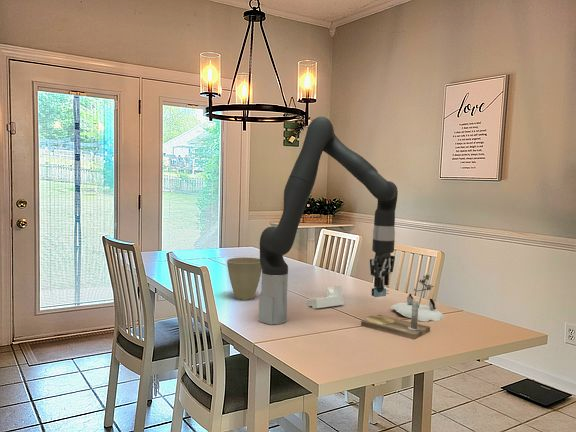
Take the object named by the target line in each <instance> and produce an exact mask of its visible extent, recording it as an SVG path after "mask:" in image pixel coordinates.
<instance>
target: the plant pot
mask: <svg viewBox="0 0 576 432" xmlns="http://www.w3.org/2000/svg"><path fill="white" fill-rule="evenodd" d="M226 264H227V265H226V266H227V271H228V272H227V273H228V277H229V281H230V285H231V288H232V292H233V295H234V297H235V299H236V298H237V299H236V300H239V299H241V300H240V301H249V299H250V300H252V299H254V297H255V295H256V292H257V289H258V286H259V282H260V279H261V276H262V267H261V264H260V258H257V257H248V256H247V257H245V256H244V257H243V256H241V257H231V258H227V260H226Z"/></svg>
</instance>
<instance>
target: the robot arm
mask: <svg viewBox="0 0 576 432" xmlns="http://www.w3.org/2000/svg"><path fill="white" fill-rule="evenodd" d="M302 143H303V144H302V146H301V147H302V148H301V149H300V152H299V154H298V156H297V158H296V161H295V163H294V165H293V167H292V169H291V172H290V174H289V176H288V178H287V181H286V184H285V187H284V190H283V209H282V215H281V217H280V219H279V223H278V224H277V226H268V227H265V229H263V230H262V232H261V235H260V238H259V259H260V264H261V267H262V270H261V286H260V287H261V291H260V294H259V295H258V322H260V323H263V324H266V325H271V326H272V325H281V324H285V323H286V322H287V319H288V318H287V317H288V316H287V314H288V289H289V288H288V285H289V284H288V283H289V282H288V280H289V265H288V264H287V263H286V261H285V259H284V256H285V255H286V254H288V253H289V252H290V251H291V249H292V248H293V246H294V242H295V238H296V236H297V233H298V227H299V225H300V221H301V219H302V216H303V214H304V211H305V207H306V206H307V203H308V200H309V199H310V196H311V193H312V190H313V189H314V185H315V183H316V179H317V174H318V170H319V164H320V160H321V156H322V154H323V152H324V153H326V154H327V155H329V156H330V157H331V158H332V159H333V160H335V161H337V162H338V163H339V164H340V165H341V166H342V167H343V168H345V169H346V171H348V172H349V173H350V174H351V175H352V176H353V177H354V178H355V179H356V180H358V181H359V182H360V183H361V184H363V186H364V187H365V188H366V190H367V191H368V192H369V193H370V194H371V195H372V196H373V197H374V198H375V199H377V204H376V205H377V206H376V209H375V211H374V219H373V220H374V221H373V229H372V246H371V247H372V249H371V250H372V252H374V253H375V255H374V258H370V259H369V270H370V276H373V277H374V279H373V280H374V283H373V288H374V287H376V288H380V287H381V274H382V271H384V268H385V270H386V271H387V275H386V276H385V277H384V286H385V287H386V286H389V284H390V275H391V274H392V273H393V272H394V267H395V260H396V259H395V258H396V256H395V255H392V253H394V252H395V239H396V237H395V236H396V231H395V230H396V229H395V226H396V225H395V223H396V222H395V220H396V209H397V203H398V187H397V185H396V184H395V183H394V182H393V181H390V180H387V179H386V178H384V176H382V175H381V174H380V173H379V172H378V170H377V169H376V167H375V166H373V165H372V164H371V163H370V162H369V161H368V160H366V158H364V157H363V156H362V155H360V154H359V153H357V152H355V151H354V150H352V149H350V148H349V147H347V146H346V145H345V144H344V143H343V142H342V141H341V140H340V139H339V138H338V136H337V135H336V134H335V130H334V126H333V124H332V122H331V121H330V119H329V118H327V117H326V116H317V117H315V118H314V119H312V121H310V123H309V124H308V127H307V130H306V133H305V137H304V141H303V142H302ZM378 267H380V268H378ZM373 270H374V271H373ZM378 270H379V272H378Z"/></svg>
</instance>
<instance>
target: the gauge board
mask: <svg viewBox="0 0 576 432" xmlns="http://www.w3.org/2000/svg"><path fill="white" fill-rule="evenodd" d="M418 303H419V301H413V302H412V318H410V320H411V321H407V320H402V319H398V318H393V317H389V316H386V315H381V314H377V315H369V316H367V317H365V319H364V320H361V322H360V326H361V327H365V328H369V329H373V330H377V331H380V332H384V333H388V334H392V335H395V336H400V337H403V338H408V339H412V340H414V339H417V338H419V337H422V336H423V335H425V334H427V333H429V332H430V331H431V326H428V325H423V324H420V323H418V321H419V320H418Z"/></svg>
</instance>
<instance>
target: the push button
mask: <svg viewBox="0 0 576 432" xmlns="http://www.w3.org/2000/svg"><path fill="white" fill-rule="evenodd" d="M378 268H380V267H378ZM373 271H374V270H373ZM378 272H379V270H378ZM386 275H387V271H386V270H385V268H384V271H382V274H381V287H380V288H376V287H374V286H373V288H371V296H372V297H375V298H380V297H386V296H387V295H389V294H390V293H389V292H388V290H387V288H385V287H386V285H384V277H385V276H386Z"/></svg>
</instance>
